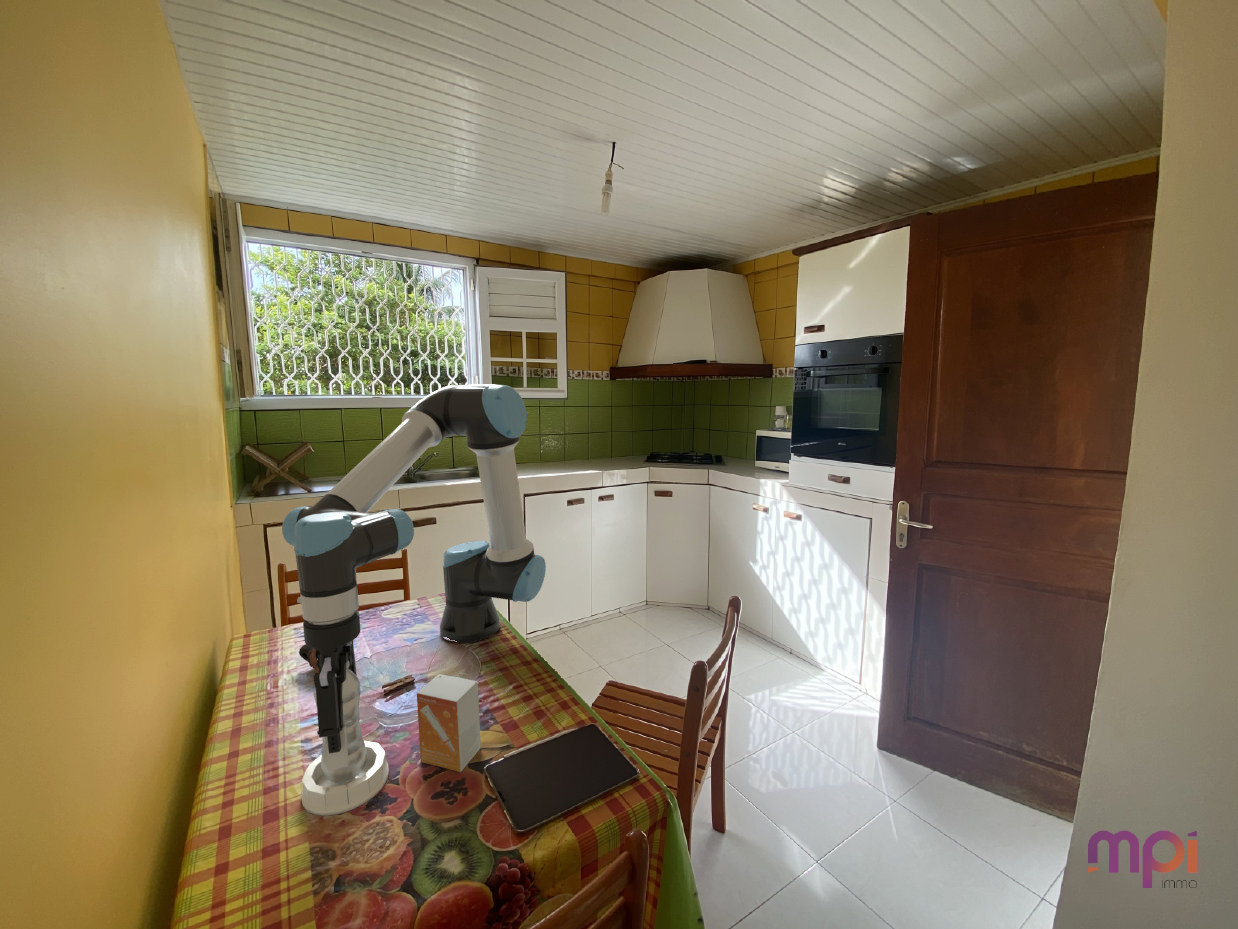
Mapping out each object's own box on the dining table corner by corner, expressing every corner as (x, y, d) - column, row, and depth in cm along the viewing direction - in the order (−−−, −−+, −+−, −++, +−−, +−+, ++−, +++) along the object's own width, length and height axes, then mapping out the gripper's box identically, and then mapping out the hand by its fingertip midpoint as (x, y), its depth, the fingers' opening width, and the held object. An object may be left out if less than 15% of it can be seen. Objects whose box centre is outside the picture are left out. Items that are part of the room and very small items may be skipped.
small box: (419, 763, 86) (415, 692, 85) (443, 739, 92) (439, 672, 90) (460, 774, 84) (456, 701, 82) (482, 748, 90) (478, 680, 88)
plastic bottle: (337, 795, 77) (325, 673, 74) (313, 778, 81) (301, 660, 78) (376, 769, 83) (367, 654, 80) (353, 753, 86) (343, 643, 83)
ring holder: (394, 750, 90) (392, 733, 89) (382, 805, 78) (380, 785, 77) (314, 764, 86) (313, 747, 86) (289, 824, 74) (287, 804, 74)
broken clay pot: (361, 657, 122) (360, 637, 117) (341, 694, 114) (339, 674, 109) (310, 647, 121) (306, 626, 116) (286, 684, 113) (281, 663, 108)
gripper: (321, 593, 86) (333, 718, 89) (280, 648, 68) (297, 803, 71) (370, 588, 88) (380, 711, 91) (343, 640, 70) (356, 791, 73)
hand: (344, 751), depth 81 cm, fingers closed on plastic bottle, 6 cm apart
